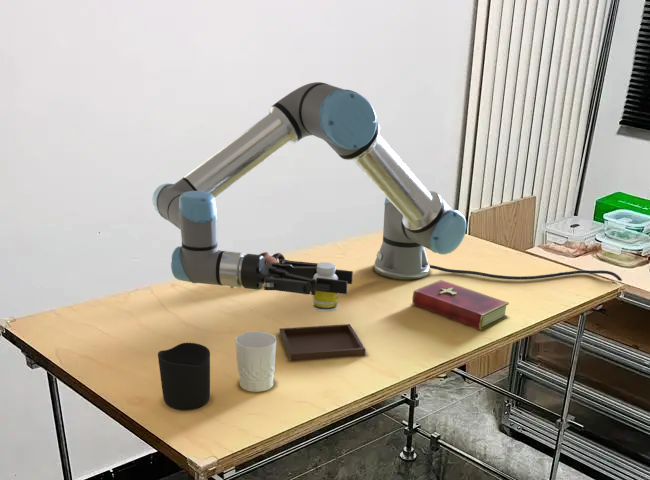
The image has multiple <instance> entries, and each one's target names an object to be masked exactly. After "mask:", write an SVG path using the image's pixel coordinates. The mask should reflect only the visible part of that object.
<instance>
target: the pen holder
mask: <svg viewBox="0 0 650 480" xmlns="http://www.w3.org/2000/svg"><path fill="white" fill-rule="evenodd" d="M157 359H158V360H157V361H158V368H159V375H160V384H161V390H162V397H163V402H164V403H165V405H166V406H168V407H169V408H171V409H174V410H177V411H191V410H197V409H200V408H202V407H204V406H205V405H207V404H208V402H209V401H210V399H211V351H210V349H209V348H208V347H207V346H205V345H203V344H200V343H196V342H182V343H179V344H178V345H175V346H173V347H172V348H169V349H163V350H159V351H158V352H157Z"/></svg>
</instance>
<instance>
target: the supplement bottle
mask: <svg viewBox="0 0 650 480" xmlns="http://www.w3.org/2000/svg"><path fill="white" fill-rule="evenodd" d="M335 269H336V264H334V263H332V262H326V261H325V262H324V261H323V262H319V264H317V272H318V273H316V274H315V275H314V277H313V279H315V280H316V279H317V278H325V279H334V280H338V277H337V275H336V274H334V273H335ZM338 294H339V293H331V292H322V291H316V290H315V295H312V308H313V309H314V310H315V311H318V312H321V313H330V312H334V311H335V310H337V309H338V297H339V296H338Z"/></svg>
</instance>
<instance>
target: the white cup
mask: <svg viewBox="0 0 650 480" xmlns="http://www.w3.org/2000/svg"><path fill="white" fill-rule="evenodd" d="M235 351H236V363H237V372H238V380H239V386H240V387H241V388H242V390H245V391H248V392H253V393H257V392H258V393H259V392H265V391H268V390H270V389H271V388H272V387H274V380H275V379H274V375H275V371H276V359H277V357H276V356H277V355H276V354H277V337H276V336H275V335H274V334H272V333H269V332H266V331H259V330H252V331H251V330H250V331H246V332H242V333H240V334H238V335H237V336H236V337H235Z"/></svg>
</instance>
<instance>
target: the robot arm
mask: <svg viewBox="0 0 650 480" xmlns="http://www.w3.org/2000/svg"><path fill="white" fill-rule="evenodd" d="M380 129H381V126H380V123H379V121H378V120H377V115H376V111H375V108H374V106H373V105H372V103H371V102H370V101H369V100H368V99H367V98H366V97H365V96H363V95H361V94H360V93H358V92H357V91H355V90H351V89H344V88H341V87H339V86H334V85H331V84H330V83H326V82H321V81H318V82H310V83H307V84H304V85H302V86H299V87H298V88H296V89H294V90H292V91H291V92H289V93H288V94H286V95H285V96H283V97H282V98H281V99H279V100H278V101H277V102H275V103H274V104H272V105H271V106H270V107H269V110H268V114H267V115H265V116H264V117H262V119H259V121H258V122H256V123H255V124H253V125H252V126H251V127H249V128H248V129H247V130H245V131H244V132H242V133H241V134H239V136H237V137H236V138H235V139H233V140H232V141H230V142H229V143H228V144H226V145H225V146H224V147H222V148H221V149H219V151H217V152H216V153H214V154H213V155H212V156H210V157H209V158H208V159H206V160H205V161H204V162H202V163H201V164H199V165H198V166H196V167H195V168H194V169H193V170H191V171H190V172H189V173H187V174H186V175H185V176H183V177H182V178H181V179H179V180H178V181H176V182H175V183H168V182H167V183H163V184H161V185H159V186H157V187H156V189H155V190H154V192H153V195H152V207H153V208H154V210H155V211H156V212H157V213H158V214H159V215H160V217H161V218H163V219H164V220H166V221H168V222H169V223H171V224H172V225H174V226H175V227H176V228H178V230H180V236H181V237H180V238H181V245H178V246H176V247H175V248H174V249H173V251H172V253H171V262H170V269H171V273H172V276H173V277H174V278H175V279H176V280H178V281H182V282H188V283H192V284H202V285H213V286H220V287H221V286H222V287H229V288H230V289H234V288H238V289H239V288H242V287H243V288H244V289H247V290H255V291H258V290H261V289H262V288H263V290H264V291H277V292H285V293H294V294H299V295H300V294H302V295H311V296H313V295H315V290H316V291H322V292H331V293H338V294H340V295H347V294H348V285H352V284H353V270H344V269H337V268H335V273H334V274H336V275H337V277H338V280H334V279H325V278H317V279H316V280H315V279H313V277H314V275H315V274H316V273H318V272H317V264H319V263H320V262H319V263H318V262H307V261H297V260H296V261H295V260H289V259H286V258H285V259H278V263H266V262H265V259H264V257H263V256H262V255H259V254H254V253H246V254H245V253H244V252H240V251H229V250H219V247H218V246H219V245H218V221H217V217H218V216H217V215H218V209H217V205H216V204H217V203H216V198H217V197H218V196H219V195H220V194H222V193H223V192H224V191H226V190H227V189H228V188H230V187H231V186H233V185H234V184H235V183H237V182H238V181H239V180H241V179H242V178H244V177H245V176H246V175H247V174H249V173H250V172H251V171H252V170H254V169H256V168H257V167H258V166H260V164H262V163H264V162H266V160H267V159H269V158H270V157H271V156H273V155H274V154H275V153H277V152H278V151H279V150H281V149H282V148H283V147H285V146H286V145H288V144H296V143H298V142H299V141H300V140H302V139H304V138H305V137H309V136H310V137H311V136H314V137H316V138H318V139H321V140H323V141H324V142H326V143H327V144H328V146H329V147H330V148H331V149H332V150H333V151H334V152H335V153H336V154H337V155H338V156H339V157H340V158H341V159H342V160H344V161H352V162H353V163H354V164H355V165H356V166H357V167H358V169H360V171H362V173H364V174H365V176H366V177H367V178H368V179H369V180H370V181H371V182H372V184H373V185H375V187H376V188H378V190H379V191H380V192H381V193H382V194H383V195H384V196H385V199H384V203H383V205H384V212H383V213H384V214H383V227H382V229H383V231H382V243H381V245H380V248H379V250H378V251H377V254H376V257H375V261H374V271H375V273H376V274H379V275H380V276H383V277H387V278H388V279H389V278H390V279H395V280H403V281H405V280H407V281H411V280H418V279H422V278H424V277H426V276H428V274H429V272H430V271H429V270H430V269H432V270H437V271H442V272H445V273H452V274H463V275H464V274H465V275H467V274H468V275H475V276H481V277H486V278H493V279H500V280H512V281H513V280H516V281H517V280H519V281H522V280H523V281H524V280H525V281H526V280H538V279H547V278H548V279H549V278H554V277H555V278H556V277H561V276H568V275H576V274H578V275H579V274H589V275H592V274H601V275H603V274H605V275H610V276H613V277H614V278H616V279H617V281H621V282H622V281H623V279H622V277H620V275H618V274H617V273H616V272H614V271H612V270H611V271H610V270H603V269H601V270H600V269H599V270H598V269H597V270H595V269H594V270H592V269H591V270H589V269H588V270H587V269H578V270H571V271H570V270H569V271H563V272H562V271H561V272H555V273H547V274H539V275H526V276H525V275H524V276H523V275H521V276H517V275H516V276H515V275H500V274H493V273H492V274H491V273H487V272H481V271H476V270H475V271H474V270H464V269H451V268H446V267H442V266H438V265H432V264H429V260H428V256H427V255H428V254H427V252H426V251H427V250H430V251H431V252H432V253H434V254H438V255H445V256H446V255H448V254H451V253H452V252H454V251H455V250H457V249H458V248H459V246H461V244H462V243H463V240H464V239H465V236H466V230H467V220H466V218H465V216H464V215H463V213H461V212H460V211H459V210H457V209H453V208H452V207H450V206H449V205H448V204H447V202H446V201H445V200H444V199H443V198H442V196H441V195H440V194H439V193H438V192H436V191H434V190H428V189H427V188H426V187H425V186H424V185H423V184H422V182H421V181H420V180H419V179H418V178H417V176H416V175H415V174H414V173H413V172H412V171H411V170H410V168H409V167H408V166H407V164H406V163H404V161H403V160H402V158H400V156H399V155H398V154H397V153H396V152H395V151H394V149H392V147H391V146H390V144H389V143H388V142H387V141H386V140H385V139H384V137H382V135H381V134H380ZM426 249H427V250H426Z"/></svg>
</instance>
